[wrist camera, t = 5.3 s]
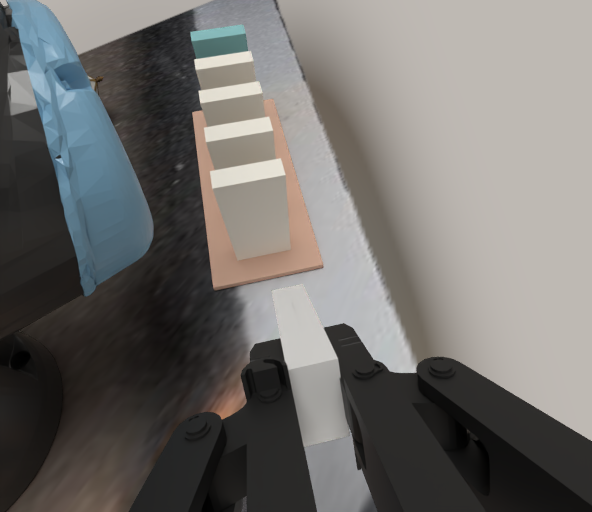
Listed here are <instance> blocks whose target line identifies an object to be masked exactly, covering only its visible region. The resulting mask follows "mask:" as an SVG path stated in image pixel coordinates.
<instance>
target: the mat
mask: <svg viewBox="0 0 592 512" xmlns="http://www.w3.org/2000/svg"><path fill="white" fill-rule="evenodd" d="M263 102H264V111H265V117H269V118H270V121H271V125H272V128H273V135H274V145H275V155H276V159H279V158H281V161H282V164H283V168H284V171H285V175H286V188H287V203H288V217H289V231H290V246H291V250H287V251H282V252H278V253H273V254H268V255H263V256H258V257H253V258H249V259H244V260H239V261H237V258H236V255H235V252H234V249H233V246H232V243H231V241H230V238H229V235H228V232H227V229H226V226H225V223H224V221H223V218H222V215H221V212H220V209H219V206H218V204H217V201H216V198H215V195H214V192H213V189H212V183H211V176H210V171H214V170H215V169H214V166H213V163H212V160H211V157H210V154H209V150H208V147H207V144H206V139H205V132H204V128H205V127H207V124H206V120H205V117H204V114H203V110H202V111H196V112H192V113H193V121H194V130H195V138H196V147H197V155H198V163H199V172H200V180H201V189H202V197H203V206H204V214H205V222H206V231H207V239H208V248H209V256H210V264H211V273H212V281H213V288H214V290H220V289H225V288H229V287H234V286H239V285H243V284H248V283H253V282H258V281H262V280H267V279H272V278H276V277H281V276H286V275H290V274H295V273H300V272H304V271H309V270H314V269H318V268H323V262H322V259H321V255H320V252H319V249H318V246H317V242H316V239H315V236H314V232H313V229H312V226H311V222H310V219H309V216H308V213H307V209H306V206H305V203H304V199H303V196H302V193H301V189H300V186H299V183H298V180H297V176H296V173H295V170H294V166H293V163H292V160H291V156H290V153H289V150H288V147H287V143H286V140H285V137H284V133H283V130H282V127H281V123H280V120H279V117H278V114H277V110H276V107H275V104H274V100H273V99H269V100H263Z"/></svg>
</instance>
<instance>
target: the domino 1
mask: <svg viewBox="0 0 592 512" xmlns="http://www.w3.org/2000/svg"><path fill="white" fill-rule="evenodd" d="M191 39H192V44H193V48H194V51H195V55H196V59H200V58H207V57H213V56H220V55H227V54H233V53H240V52H246V51H248V47H247V40H246V33H245V30H244V26H243V25H236V26H229V27H222V28H215V29H208V30H202V31H195V32H191Z"/></svg>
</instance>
